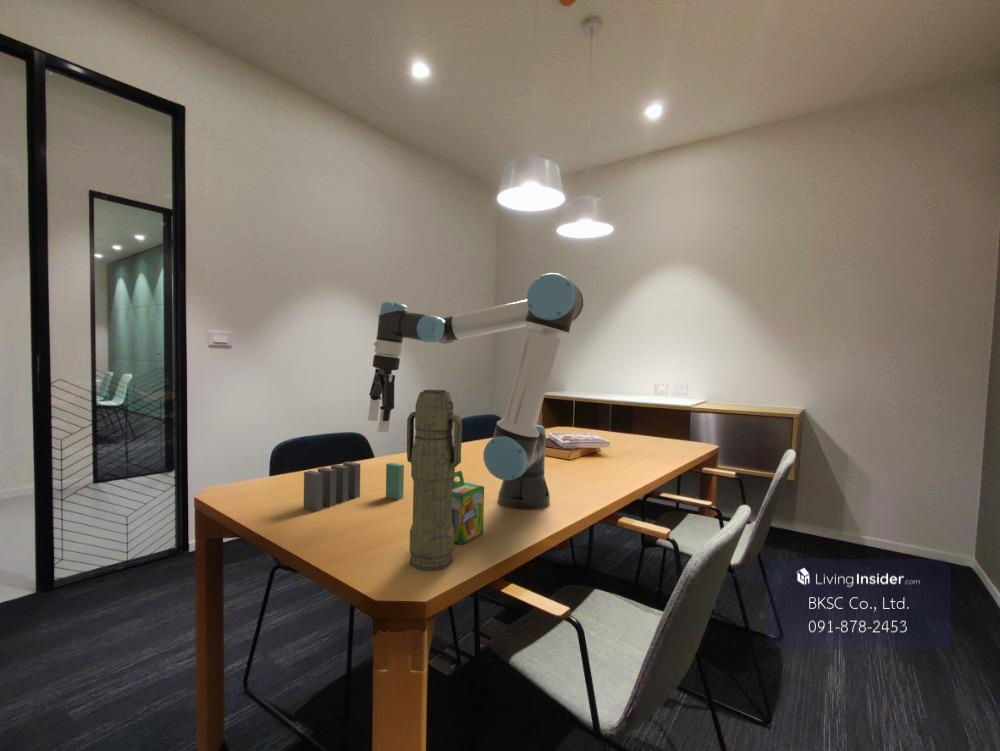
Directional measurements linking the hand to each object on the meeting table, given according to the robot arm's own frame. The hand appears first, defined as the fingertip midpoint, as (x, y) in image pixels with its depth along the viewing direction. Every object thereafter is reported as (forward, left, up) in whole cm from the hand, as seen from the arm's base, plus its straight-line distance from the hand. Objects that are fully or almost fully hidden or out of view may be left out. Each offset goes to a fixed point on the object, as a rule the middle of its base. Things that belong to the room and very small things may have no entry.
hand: (377, 426), depth 133 cm
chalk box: (-37, -12, -21) cm, 44 cm away
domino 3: (0, +10, -21) cm, 24 cm away
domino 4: (+3, +7, -21) cm, 22 cm away
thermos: (-48, -2, -21) cm, 53 cm away
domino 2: (-2, +14, -21) cm, 26 cm away
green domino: (-3, -5, -21) cm, 22 cm away
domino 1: (-5, +18, -21) cm, 28 cm away
